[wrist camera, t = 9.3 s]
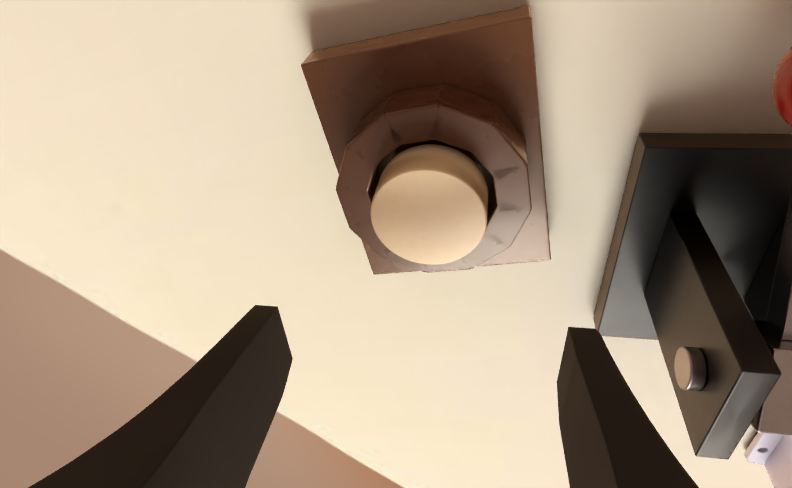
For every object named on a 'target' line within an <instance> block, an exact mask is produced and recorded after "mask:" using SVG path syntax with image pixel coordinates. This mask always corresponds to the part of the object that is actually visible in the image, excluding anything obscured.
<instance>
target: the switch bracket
mask: <svg viewBox="0 0 792 488" xmlns="http://www.w3.org/2000/svg"><path fill="white" fill-rule="evenodd" d="M791 188H792V134H676V133H639V134H638V138H637V142H636V146H635V150H634V154H633V158H632V162H631V166H630V171H629V175H628V179H627V183H626V187H625V191H624V195H623V199H622V203H621V207H620V211H619V215H618V220H617V224H616V228H615V232H614V236H613V240H612V244H611V248H610V252H609V256H608V260H607V265H606V269H605V273H604V277H603V281H602V285H601V289H600V293H599V297H598V301H597V305H596V310H595V314H594V323H595V328H596V330H597V331H598V332H599V333H600V334H601V336H612V337H626V338H640V339H655V340H659V343H660V347H661V350H662V353H663V356H664V359H665V362H666V365H667V368H668V371H669V375H670V378H671V381H672V384H673V387H674V390H675V393H676V396H677V400H678V403H679V406H680V409H681V412H682V415H683V418H684V421H685V424H686V428H687V431H688V434H689V437H690V440H691V443H692V446H693V449H694V452H695V455H696V456H700V457H709V458H719V459H729V457H730V456H731V454H732V452H733V451H734V449H735V448H736V446H737V444H738V443H739V441H740V440H741V438H742V436H743V435H744V433H745V432H746V430H747V429H748V427H749V425H750V424H751V422H752V421H753V419H754V417H755V416H756V414H757V413H758V411H759V409H760V408H761V406H762V405H763V403H764V401H765V400H766V398H767V397H768V395H769V394H770V392H771V390H772V389H773V387H774V386H775V384H776V382H777V381H778V379H779V378H780V376H781V371H780V369H779V367H778V365H777V364H776V362H775V360H774V358H773V356H772V354H771V352H770V350H769V349H768V347H767V345H766V343H765V341H764V339H763V337H762V335H761V334H760V332H759V330H758V328H757V326H756V324H755V322H754V320H759V321H766V318H767V313H768V308H769V303H770V297H771V292H772V287H773V282H774V276H775V271H776V266H777V261H778V256H779V250H780V245H781V240H782V235H783V229H784V224H785V219H786V214H787V209H788V203H789V198H790V193H791Z"/></svg>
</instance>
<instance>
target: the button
mask: <svg viewBox="0 0 792 488" xmlns="http://www.w3.org/2000/svg"><path fill="white" fill-rule="evenodd" d="M487 212H488V187H487V183H486V180H485V177H484V175H483V173H482V171H481V170H480V168H479V167H478V166H477V164H476V163H475V162H474V161H473V160H472V159H470V158H469V157H468V156H466V155H465V154H463V153H462V152H460V151H458V150H456V149H453V148H450V147H447V146H443V145H434V144H427V145H419V146H414V147H412V148H409V149H406V150H404V151H402V152H400V153H399V154H397V155H396V156H395V157H394V158H393V159H391V160H390V162H389V163H388V164H387V165H386V167H385V168H384V170H383V172H382V175H381V177H380V180H379V183H378V186H377V189H376V191H375V194H374V197H373V200H372V204H371V211H370V215H371V222H372V226H373V228H374V231H375V233H376V234H377V236H378V238H379V239H380V240H381V242H382V243H383V244H384V245H385V246H386V247H387V248H388V249H389V250H391V251H392V252H393V253H395V254H396V255H398V256H400V257H402V258H404V259H406V260H409V261H412V262H416V263H420V264H429V265H437V264H445V263H449V262H453V261H456V260H459V259H461V258H462V257H464V256H466V255H467V254H469V253H470V252H471V251H473V250H474V249H475V248H476V247H477V245H478V244H479V243H480V241H481V240H482V238H483V236H484V234H485V231H486V227H487Z"/></svg>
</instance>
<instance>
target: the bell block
mask: <svg viewBox="0 0 792 488" xmlns="http://www.w3.org/2000/svg"><path fill="white" fill-rule="evenodd" d="M301 67H302V70H303V73H304V76H305V78H306V81H307V84H308V87H309V90H310V93H311V96H312V99H313V101H314V104H315V107H316V110H317V113H318V116H319V119H320V121H321V124H322V127H323V130H324V133H325V136H326V139H327V142H328V144H329V147H330V150H331V153H332V156H333V159H334V162H335V165H336V167H337V170H338V173H339V177H338V181H337V185H336V191H337V194H338V197H339V200H340V202H341V205H342V208H343V211H344V214H345V216H346V219H347V222H348V225H349V227H350V229H351V230H352V231H353V232H354V233H355V234H357V235H358V236H359V237H360V238H361V239H362V242H363V245H364V248H365V251H366V253H367V256H368V259H369V262H370V265H371V268H372V271H373V274H387V273H399V272H411V271H423V272H439V271H451V270H463V269H471V268H474V267H476V266H485V265H497V264H510V263H522V262H534V261H546V260H550V259H551V255H550V242H549V230H548V217H547V205H546V192H545V180H544V167H543V155H542V143H541V130H540V118H539V105H538V93H537V80H536V68H535V55H534V43H533V30H532V18H531V13H530V7H529V6H524V7H519V8H514V9H510V10H505V11H500V12H496V13H491V14H486V15H481V16H477V17H472V18H467V19H463V20H458V21H453V22H449V23H444V24H439V25H435V26H430V27H425V28H420V29H416V30H411V31H406V32H402V33H397V34H392V35H388V36H383V37H378V38H374V39H369V40H364V41H359V42H355V43H350V44H345V45H341V46H336V47H331V48H327V49H322V50H317V51H313V52H312V53H311V54H310V55H309V56H308V57H307V58H306V60H305V61H304V62H303V63H302V64H301ZM427 144H434V145H443V146H447V147H450V148H453V149H456V150H458V151H460V152H462V153H463V154H465V155H466V156H468V157H469V158H470V159H472V160H473V161H474V162H475V163H476V164H477V166H478V167H479V168H480V170H481V171H482V173H483V175H484V177H485V180H486V183H487V187H488V212H487V227H486V231H485V234H484V236H483V238H482V240H481V241H480V243H479V244H478V245H477V247H476V248H475V249H474V250H473V251H471V252H470V253H469V254H467V255H466V256H464V257H462V258H461V259H459V260H456V261H453V262H449V263H445V264H437V265H429V264H420V263H416V262H412V261H409V260H406V259H404V258H402V257H400V256H398V255H396V254H395V253H393V252H392V251H391V250H389V249H388V248H387V247H386V246H385V245H384V244H383V243H382V242H381V240H380V239H379V238H378V236H377V234H376V233H375V231H374V228H373V226H372V222H371V215H370V211H371V204H372V200H373V197H374V194H375V191H376V189H377V186H378V183H379V180H380V177H381V175H382V172H383V170H384V168H385V167H386V165H387V164H388V163H389V162H390V160H391V159H393V158H394V157H395V156H396V155H397V154H399V153H400V152H402V151H404V150H406V149H409V148H412V147H414V146H419V145H427Z"/></svg>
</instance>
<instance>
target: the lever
mask: <svg viewBox="0 0 792 488" xmlns="http://www.w3.org/2000/svg"><path fill="white" fill-rule="evenodd" d="M772 91H773V100H774V103H775V106H776V109H777V110H778V112H779V114H780V115H781V117H782V118H783V119H784V120H785V121H786V122H787V123H788V124H789V125H791V126H792V48H791V49H790V50H789V51H788V52H787V53H786V54H785V56H784V57H783V59H782V60H781V62H780V64H779V66H778V67H777V70H776V73H775V76H774V80H773V87H772ZM754 322H755V324H756V326H757V328H758V330H759V332H760V334H761V335H762V337H763V339H764V341H765V343H766V345H767V347H768V349H769V350H770V352H771V354H772V356H773V358H774V360H775V362H776V364H777V365H778V367H779V369H780V371H781V376H780V378H779V379H778V381H777V382H776V384H775V386H774V387H773V389H772V390H771V392H770V394H769V395H768V397H767V398H766V400H765V401H764V403H763V405H762V406H761V408H760V409H759V411H758V413H757V414H756V416H755V417H754V419H753V421H752V422H751V425H752V427H753V428H754V429H755V430H756V431H757V432H759V433H770V434H780V435H791V436H792V188H791V193H790V198H789V203H788V209H787V214H786V219H785V224H784V229H783V235H782V240H781V245H780V250H779V256H778V261H777V266H776V271H775V276H774V282H773V287H772V292H771V297H770V303H769V308H768V313H767V318H766V321H759V320H754Z"/></svg>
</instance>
